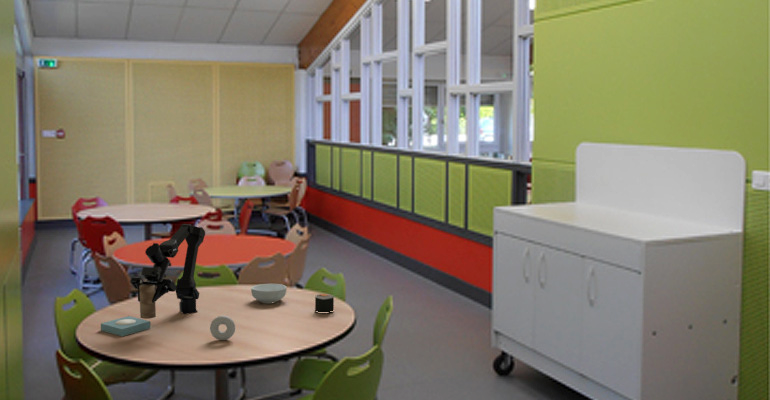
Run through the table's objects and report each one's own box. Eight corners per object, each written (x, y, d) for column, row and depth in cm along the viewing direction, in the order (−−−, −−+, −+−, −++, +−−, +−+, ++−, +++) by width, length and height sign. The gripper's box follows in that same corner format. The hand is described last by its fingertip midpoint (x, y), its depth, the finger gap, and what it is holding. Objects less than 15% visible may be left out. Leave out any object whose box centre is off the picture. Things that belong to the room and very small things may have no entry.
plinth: (129, 322, 314) (129, 315, 313) (150, 328, 306) (150, 320, 306) (100, 330, 302) (100, 323, 302) (122, 336, 294) (122, 328, 294)
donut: (236, 338, 293) (235, 314, 292) (235, 341, 290) (234, 316, 289) (210, 339, 292) (210, 314, 291) (209, 341, 289) (209, 317, 288)
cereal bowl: (293, 300, 354) (293, 285, 353) (270, 307, 340) (270, 292, 339) (267, 295, 363) (267, 281, 362) (244, 302, 349) (243, 288, 348)
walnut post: (155, 314, 303) (154, 283, 301) (156, 318, 297) (155, 286, 295) (140, 315, 301) (139, 284, 299) (140, 319, 295) (139, 288, 293)
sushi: (322, 314, 329) (322, 297, 328) (311, 311, 335) (311, 294, 334) (336, 311, 334) (337, 294, 333) (326, 308, 340) (326, 291, 339)
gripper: (131, 257, 302) (116, 290, 293) (171, 260, 298) (158, 293, 288) (142, 272, 310) (128, 304, 301) (182, 274, 306) (169, 307, 297)
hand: (145, 301), depth 297 cm, fingers closed on walnut post, 6 cm apart
